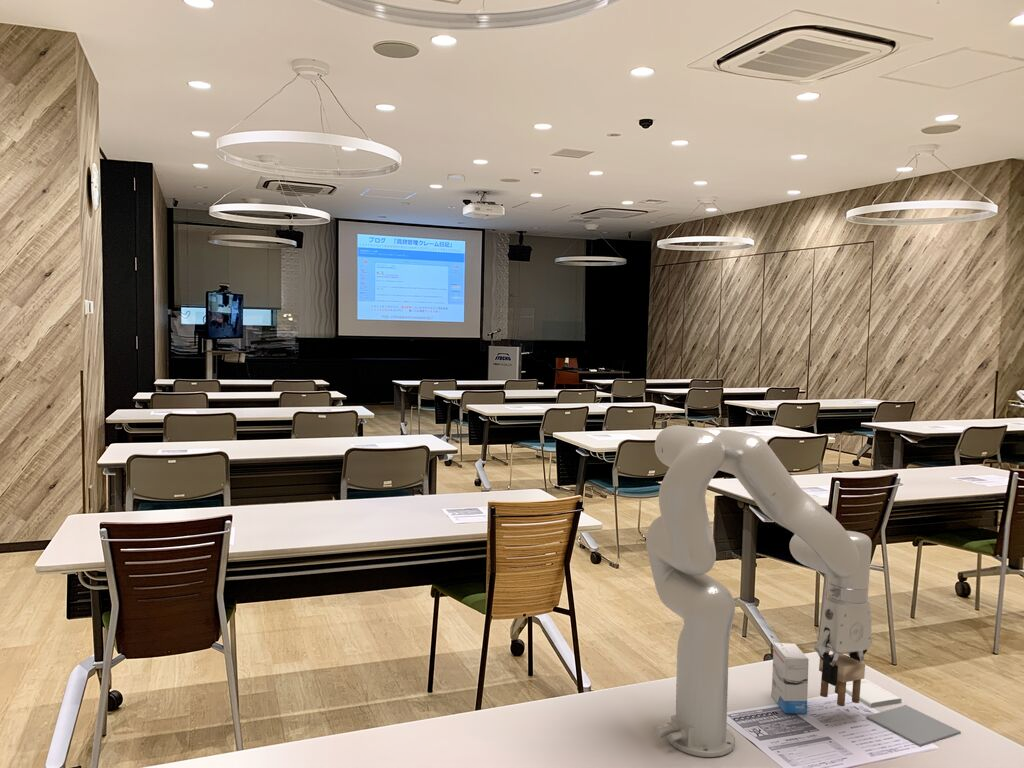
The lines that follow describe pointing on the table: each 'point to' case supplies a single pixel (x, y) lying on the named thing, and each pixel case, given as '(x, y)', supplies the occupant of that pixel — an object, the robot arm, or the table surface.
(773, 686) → the ink box
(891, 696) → the external hard drive
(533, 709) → the table surface
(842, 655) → the stool
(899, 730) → the mat
